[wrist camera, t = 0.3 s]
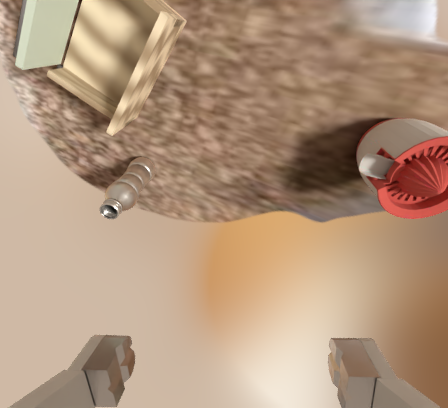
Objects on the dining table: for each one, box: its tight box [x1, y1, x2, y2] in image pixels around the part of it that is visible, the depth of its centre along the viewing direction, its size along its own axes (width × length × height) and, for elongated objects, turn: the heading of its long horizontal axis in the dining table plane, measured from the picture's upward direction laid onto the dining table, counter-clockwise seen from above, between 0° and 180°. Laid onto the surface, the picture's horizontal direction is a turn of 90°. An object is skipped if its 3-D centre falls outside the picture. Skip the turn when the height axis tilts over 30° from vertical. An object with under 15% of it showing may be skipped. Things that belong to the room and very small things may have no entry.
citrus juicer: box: [356, 118, 448, 219], centre depth 47 cm, size 16×17×20 cm
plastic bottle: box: [100, 157, 156, 219], centre depth 55 cm, size 6×7×20 cm
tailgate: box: [13, 0, 79, 70], centre depth 40 cm, size 19×2×10 cm, turn 144°
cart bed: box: [47, 0, 187, 136], centre depth 43 cm, size 22×17×12 cm
